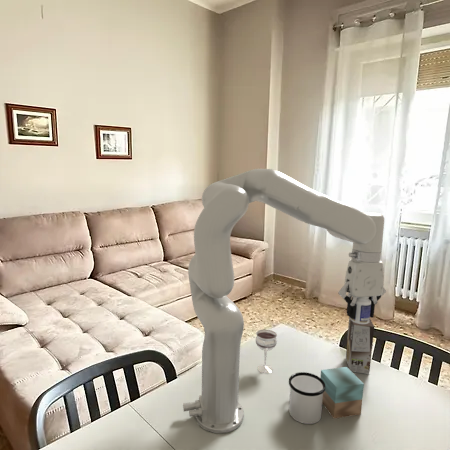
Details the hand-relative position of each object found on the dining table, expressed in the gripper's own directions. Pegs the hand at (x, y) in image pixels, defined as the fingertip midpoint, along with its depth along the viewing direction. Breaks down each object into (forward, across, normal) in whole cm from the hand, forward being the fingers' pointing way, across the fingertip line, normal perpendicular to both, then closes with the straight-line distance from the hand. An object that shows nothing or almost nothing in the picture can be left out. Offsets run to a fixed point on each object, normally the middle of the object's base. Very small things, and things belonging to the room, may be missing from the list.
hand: (360, 315), depth 102 cm
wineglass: (+23, -23, +13) cm, 35 cm away
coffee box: (+22, +8, +9) cm, 25 cm away
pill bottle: (+2, 0, 0) cm, 2 cm away
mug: (+23, -20, -7) cm, 31 cm away
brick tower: (+22, -9, -8) cm, 25 cm away
